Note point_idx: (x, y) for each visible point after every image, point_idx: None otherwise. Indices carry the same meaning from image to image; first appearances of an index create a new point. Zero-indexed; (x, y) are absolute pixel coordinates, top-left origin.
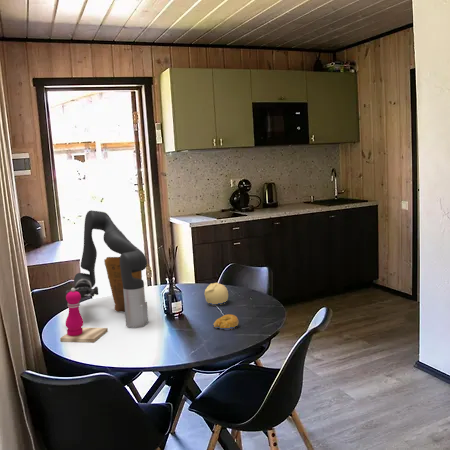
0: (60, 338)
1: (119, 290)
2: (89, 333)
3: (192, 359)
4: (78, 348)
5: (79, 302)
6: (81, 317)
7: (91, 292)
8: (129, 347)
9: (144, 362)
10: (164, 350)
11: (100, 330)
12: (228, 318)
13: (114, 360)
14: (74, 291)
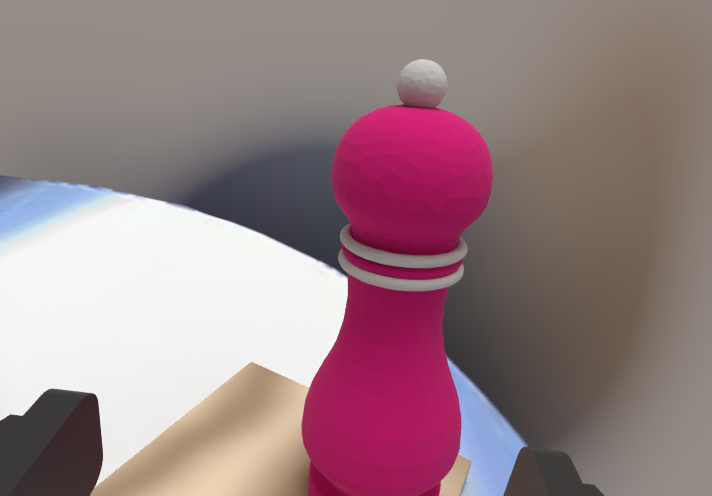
0: (469, 463)
1: None
2: (257, 453)
3: (18, 183)
4: None
5: (344, 228)
6: (320, 367)
7: (53, 397)
8: (118, 281)
9: (145, 210)
10: (27, 228)
11: (154, 476)
12: None
13: (221, 241)
14: (405, 105)
